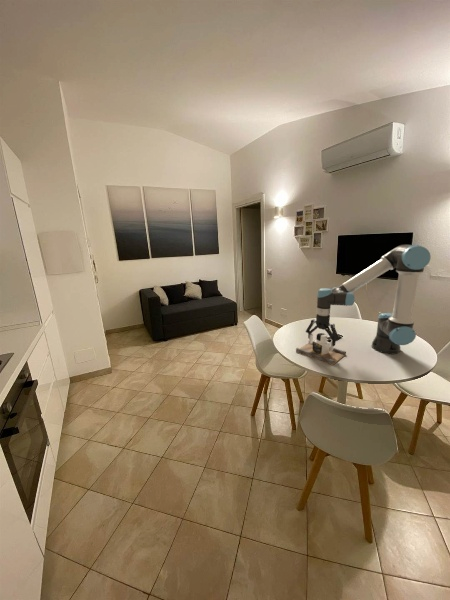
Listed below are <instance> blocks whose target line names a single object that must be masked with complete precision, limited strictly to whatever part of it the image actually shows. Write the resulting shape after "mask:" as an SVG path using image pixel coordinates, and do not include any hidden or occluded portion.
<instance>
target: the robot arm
mask: <svg viewBox="0 0 450 600" xmlns="http://www.w3.org/2000/svg"><path fill="white" fill-rule="evenodd" d="M431 257H432V255H431V253H430V251H429V250H428V249H427V248H426V247H425V246H422V245H419V244H400V245H398V246H396V247H394V248H393V249H391V250H390V251H388V252H387V253H385V254H384V255H382V256H381V257H380V259H379V260H377V261H376V262H374V263H373V264H371V265H369V266H368V267H367V268H365V269H363V270H362V271H360V272H359V273H357V274H355V275H354V276H353V277H351V278H350V279H348V280H347V281H345V282H343V283H342V284H340V285H339V286H335V287H332V288H329V287H328V288H325V287H322V288H319V289H318V290H317V296H316V297H317V299H316V300H317V301H316V314H315V317H316V318H313V319H311V320H310V323H309V325H308V327H307V328H306V330H305V333H306V334H308V335H307V336H308V337H307V338H308V339H309V340H308V343H309V344H312V341H314V340H313V338H314V333H313V332H314V331H316V330H317V329H320V330H323V331H325V332H326V334H327V336H329V338H330V339H331V340H330V351H332V350H333V348H335V346H336V342H338V341H339V340H340V337H339V335H338V332H337V330H336V326H335V325H336V324H335V323H332V324H331V323H330V321H331V320H330V317H331V307H332V306H345V307H347V306H353V305H354V303H355V300H356V299H355V294H354V292H355V291H357V290H358V289H361V288H363V287H364V286H365V285H367V284H368V283H370V282H371V281H373V280H375V279H376V278H378V277H380V276H381V275H384V274H385V273H386V272H388V271H389V270H390V271H392V270H394V269H395V272H396V273H398V277H397V282H396V283H397V284H396V290H395V296H394V301H393V302H394V303H393V309H392V312H382V313H380V314H379V315H378V318H377V319H378V320H377V327H376V335H375V336H374V338H373V341H372V343H371V348H372V349H374V350H375V351H377V352H380V353H383V354H390V355H391V354H392V355H394V354H395V355H397V354H398V353H400V352H401V346H407V345H409V344H411V343H413V342H414V340H415V339H416V337H417V336H416V335H417V334H416V331H415V329H414V323H415V321H414V319H413V318H412V316H413V309H414V304H415V298H416V293H417V289H418V288H417V287H418V281H419V276H420V275H421V274H422V273H424V272H425V271H424V270H425V268H426V267H427V266H428V264H429V263H430V261H431ZM314 325H315V326H314ZM313 326H314V327H313ZM312 327H313V328H312Z"/></svg>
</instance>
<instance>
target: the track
mask: <svg viewBox="0 0 450 600" xmlns="http://www.w3.org/2000/svg"><path fill="white" fill-rule="evenodd" d="M313 341H314V340H312V344H309V342H307V344H305V345H302V347H300V348H299V347H296V348H295V351H296V352H297V353H298V354H299V353H300V354H303V355H305V356H308V357H311V358H314V359H316V360H319V361H322V362H324V363H327V364H329V365H333V366H334V365H335V364H337V362H339V361H340V360H341V359H343V358H344V357H345V356H346V355H347V351H345V350H342V349H339V348H335V347H334V348H333V350H332V351H330V350H329V353H328V354H325V355H322V356H321V355H319V354H317V353H315V352H313Z"/></svg>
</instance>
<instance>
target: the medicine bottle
mask: <svg viewBox="0 0 450 600" xmlns="http://www.w3.org/2000/svg"><path fill="white" fill-rule="evenodd" d="M312 341H313V352H315V353H317V354H319V355H321V356H322V355H325V354H328V353H329V350H330V345H331V341H330V342H329V341H328V334H327V333H323V332H321V333H320V332H319V333H317V334H316V338H315V340H312Z"/></svg>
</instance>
